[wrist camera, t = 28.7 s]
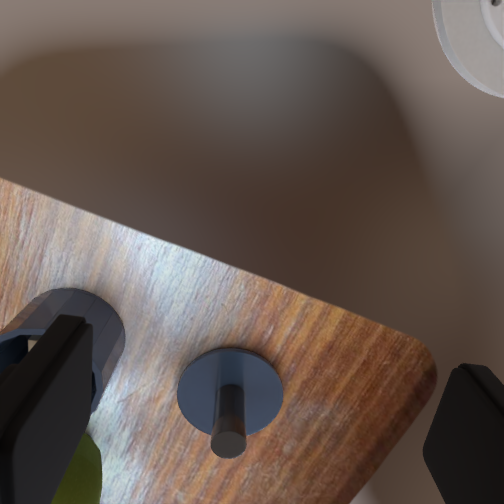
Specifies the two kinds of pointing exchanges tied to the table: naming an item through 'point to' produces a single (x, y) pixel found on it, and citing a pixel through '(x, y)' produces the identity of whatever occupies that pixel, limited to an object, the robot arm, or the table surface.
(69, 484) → the apple
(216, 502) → the table surface
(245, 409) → the lid
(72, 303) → the pot
